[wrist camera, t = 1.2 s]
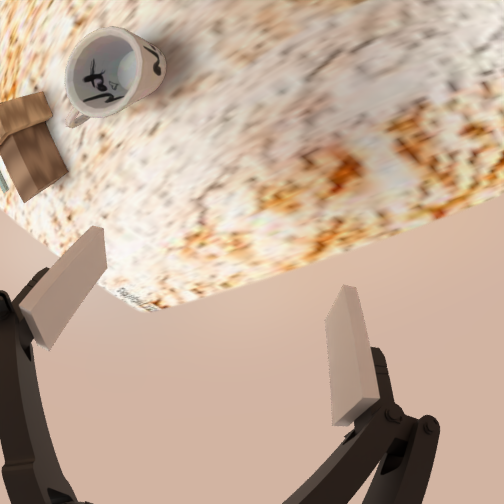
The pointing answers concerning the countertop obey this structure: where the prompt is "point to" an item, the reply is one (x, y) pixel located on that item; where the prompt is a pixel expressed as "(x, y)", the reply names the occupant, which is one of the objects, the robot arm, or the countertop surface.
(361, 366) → the robot arm
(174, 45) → the countertop surface
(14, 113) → the wooden arch block
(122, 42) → the mug
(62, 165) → the brown wooden block
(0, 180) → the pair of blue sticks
